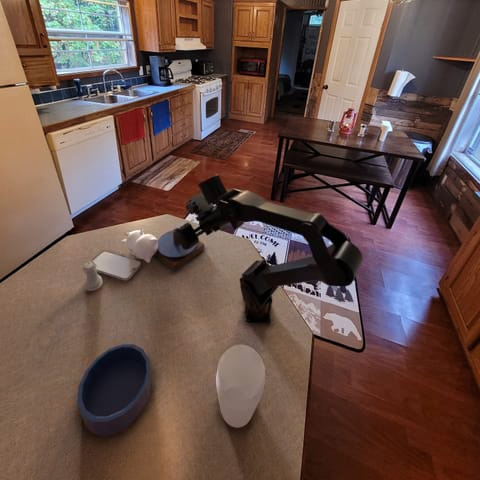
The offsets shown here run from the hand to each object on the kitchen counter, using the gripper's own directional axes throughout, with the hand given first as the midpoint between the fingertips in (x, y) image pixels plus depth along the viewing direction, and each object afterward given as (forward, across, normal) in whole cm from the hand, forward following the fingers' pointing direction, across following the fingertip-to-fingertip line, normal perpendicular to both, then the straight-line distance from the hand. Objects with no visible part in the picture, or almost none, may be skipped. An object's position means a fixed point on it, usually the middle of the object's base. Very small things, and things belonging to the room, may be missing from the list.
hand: (192, 231), depth 79 cm
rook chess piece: (+19, +25, -1) cm, 31 cm away
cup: (-16, +20, +34) cm, 42 cm away
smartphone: (+20, +18, -3) cm, 27 cm away
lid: (+12, 0, +1) cm, 12 cm away
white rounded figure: (+21, +10, -9) cm, 25 cm away
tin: (-2, +33, +19) cm, 39 cm away
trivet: (+14, 0, +4) cm, 15 cm away
